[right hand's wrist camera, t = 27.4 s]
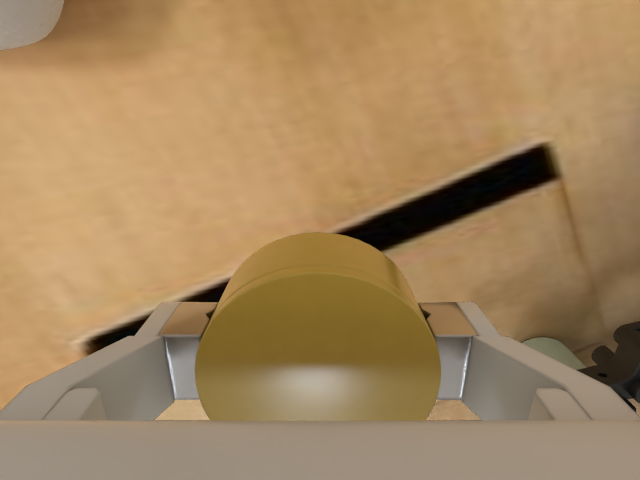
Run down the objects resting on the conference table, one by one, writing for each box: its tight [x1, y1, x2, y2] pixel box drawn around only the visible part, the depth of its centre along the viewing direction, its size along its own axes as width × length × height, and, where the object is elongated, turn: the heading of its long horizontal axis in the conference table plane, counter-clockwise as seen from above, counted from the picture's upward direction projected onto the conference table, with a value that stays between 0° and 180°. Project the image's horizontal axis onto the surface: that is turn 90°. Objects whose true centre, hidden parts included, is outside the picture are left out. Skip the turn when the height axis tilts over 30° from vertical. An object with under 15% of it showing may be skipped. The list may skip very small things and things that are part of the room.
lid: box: [195, 232, 441, 420], centre depth 9 cm, size 5×5×2 cm
